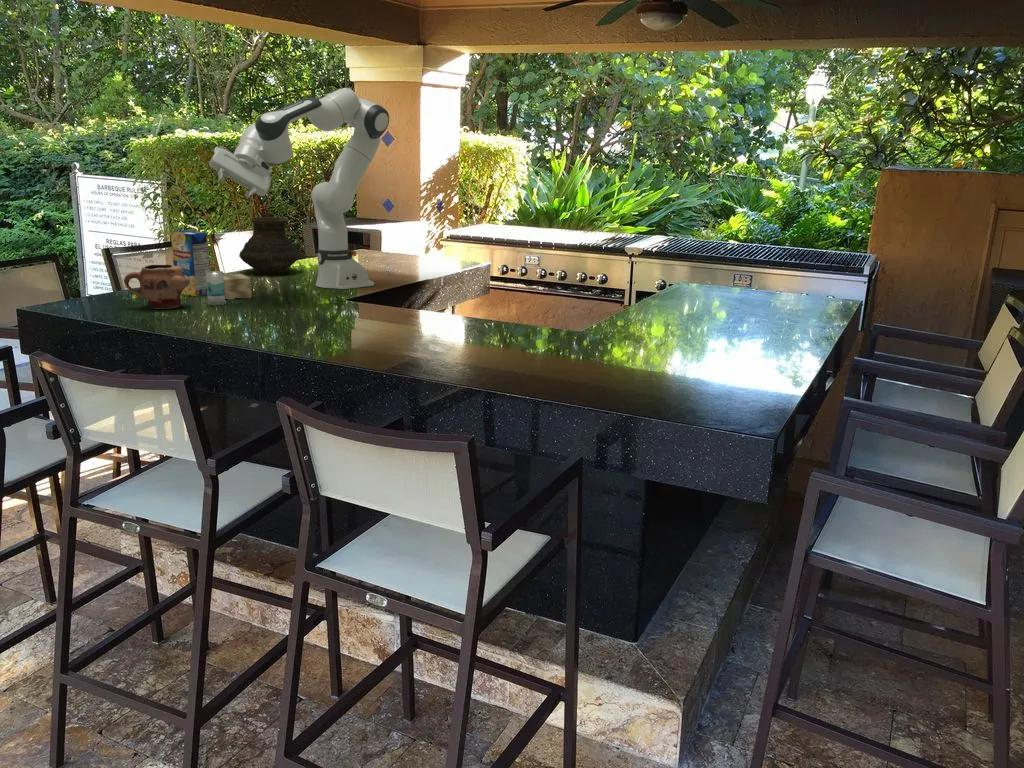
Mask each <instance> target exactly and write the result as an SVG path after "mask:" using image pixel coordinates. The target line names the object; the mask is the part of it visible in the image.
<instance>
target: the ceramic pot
mask: <svg viewBox="0 0 1024 768" xmlns="http://www.w3.org/2000/svg"><path fill="white" fill-rule="evenodd" d="M248 219H249V220H250V221H251V222H252V226H253V231H252V235H251V236H250V238H249V239H248V241H246V242H245V243H244V246H243V248H242V249H241V250H240V251H239V256H238V257H239V258H240V259H241V260H242V261H243V263H245V264H247V265H248V266H249V267H251V268H252V269H253V270H254V271H256V272H258V273H259V274H262V275H277V274H281V273H282V272H285V271H286V270H288V268H290V267H291V266H293V265H294V264H295V263H296V262H297V260H299V259H300V257H301V253H300V251H299V250H298V248H297V247H296V246H295V245H294V244H293V242H292V241H290V239H289V238H288V237H287V233H286V223H287V222H288V221H289V219H288V218H286V217H279V216H256V217H255V216H254V217H249V218H248Z"/></svg>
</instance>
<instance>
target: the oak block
mask: <svg viewBox="0 0 1024 768" xmlns="http://www.w3.org/2000/svg"><path fill="white" fill-rule="evenodd" d="M251 282H252V281H251V277H249V276H247V275H245V274H242V273H237V274H224V287H225V299H228V300H236V299H235V298H242V299H252V298H251V297H252V283H251Z"/></svg>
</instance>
